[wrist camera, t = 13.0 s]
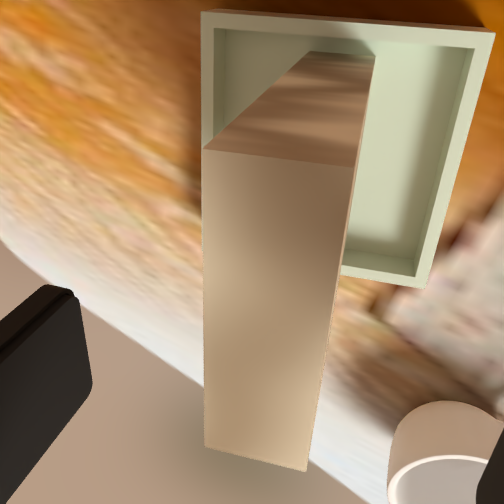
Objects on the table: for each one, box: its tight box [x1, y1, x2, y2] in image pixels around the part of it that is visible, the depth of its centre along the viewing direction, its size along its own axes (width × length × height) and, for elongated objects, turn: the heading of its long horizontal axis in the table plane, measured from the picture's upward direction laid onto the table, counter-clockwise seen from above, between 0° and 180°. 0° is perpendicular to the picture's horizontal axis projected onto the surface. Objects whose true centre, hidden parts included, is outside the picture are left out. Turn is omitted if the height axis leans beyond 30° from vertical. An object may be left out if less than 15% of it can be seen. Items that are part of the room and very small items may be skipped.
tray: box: [201, 8, 496, 289], centre depth 24 cm, size 12×12×2 cm
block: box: [202, 51, 376, 472], centre depth 18 cm, size 3×9×15 cm, turn 177°
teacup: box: [387, 401, 504, 504], centre depth 29 cm, size 10×8×5 cm
